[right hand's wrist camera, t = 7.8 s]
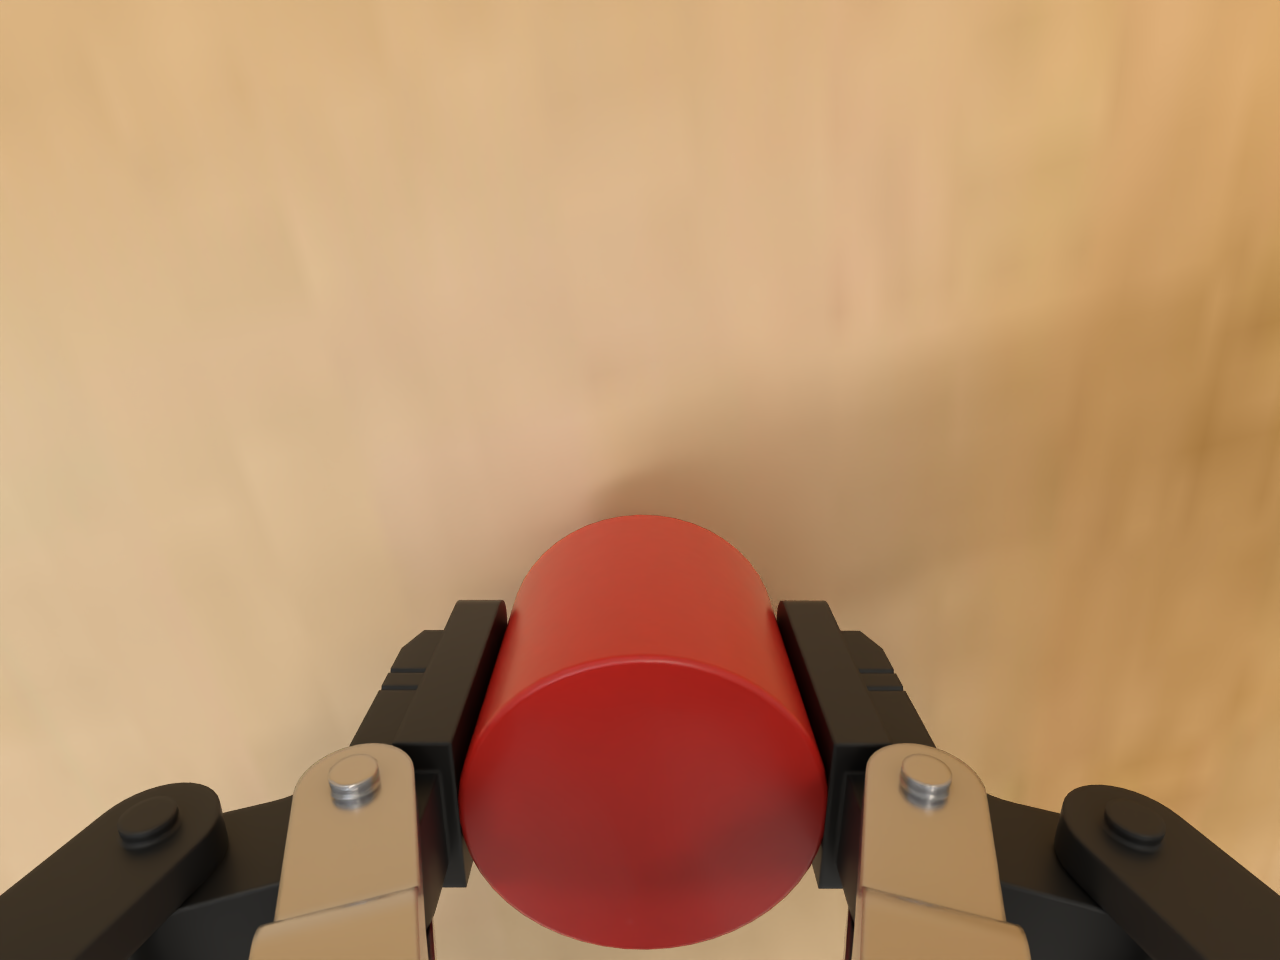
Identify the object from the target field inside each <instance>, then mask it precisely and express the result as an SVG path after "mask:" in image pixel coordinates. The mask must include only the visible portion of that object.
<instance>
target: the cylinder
mask: <svg viewBox="0 0 1280 960" xmlns="http://www.w3.org/2000/svg"><path fill="white" fill-rule="evenodd" d="M827 797H828V786H827V777H826V771H825V767H824V764H823V761H822V758H821V755H820V752H819V749H818V746H817V743H816V740H815V737H814V734H813V731H812V728H811V725H810V722H809V718H808V715H807V712H806V709H805V706H804V703H803V700H802V697H801V694H800V691H799V688H798V685H797V682H796V679H795V676H794V673H793V670H792V667H791V664H790V661H789V657H788V654H787V651H786V648H785V645H784V642H783V639H782V636H781V633H780V630H779V627H778V624H777V621H776V618H775V615H774V612H773V609H772V606H771V603H770V600H769V597H768V594H767V591H766V588H765V587H764V585H763V583H762V581H761V579H760V577H759V575H758V574H757V572H756V571H755V570H754V568H753V567H752V565H751V564H750V563H749V561H748V560H747V559H746V558H745V557H744V556H743V555H742V554H741V553H740V552H739V551H738V550H737V549H736V548H734V547H733V546H732V545H731V544H729V543H728V542H727V541H725V540H724V539H723V538H721V537H719V536H717V535H716V534H714V533H712V532H711V531H709V530H707V529H704V528H702V527H700V526H697V525H695V524H693V523H689V522H686V521H682V520H679V519H676V518H669V517H663V516H655V515H632V516H621V517H616V518H611V519H606V520H602V521H599V522H596V523H593V524H590V525H587V526H585V527H583V528H581V529H579V530H577V531H575V532H573V533H571V534H569V535H567V536H566V537H564V538H563V539H561V540H560V541H558V542H557V543H555V544H554V545H553V546H552V547H551V548H550V549H549V550H547V551H546V552H545V553H544V554H543V555H542V556H541V557H540V558H539V560H538V561H537V562H536V563H535V564H534V565H533V566H532V568H531V569H530V571H529V572H528V574H527V576H526V577H525V579H524V580H523V582H522V585H521V587H520V589H519V591H518V593H517V596H516V599H515V602H514V606H513V609H512V612H511V615H510V618H509V621H508V625H507V628H506V631H505V634H504V637H503V641H502V644H501V647H500V650H499V653H498V656H497V660H496V663H495V666H494V669H493V672H492V675H491V679H490V682H489V685H488V688H487V691H486V694H485V698H484V701H483V704H482V707H481V710H480V713H479V717H478V720H477V723H476V726H475V729H474V732H473V736H472V739H471V742H470V745H469V748H468V751H467V755H466V758H465V761H464V765H463V768H462V772H461V775H460V781H459V790H458V801H459V815H460V823H461V828H462V832H463V837H464V840H465V842H466V845H467V847H468V850H469V852H470V855H471V857H472V859H473V861H474V862H475V864H476V866H477V867H478V869H479V871H480V873H481V874H482V875H483V877H484V878H485V879H486V880H487V882H488V883H489V884H490V885H491V887H492V888H493V889H494V890H495V891H496V892H497V893H498V894H499V895H500V896H501V897H502V898H503V899H504V900H505V901H506V902H507V903H509V904H510V905H511V906H513V907H514V908H515V909H517V910H518V911H519V912H520V913H522V914H523V915H525V916H526V917H528V918H530V919H531V920H533V921H535V922H536V923H538V924H540V925H542V926H544V927H546V928H548V929H550V930H553V931H555V932H557V933H559V934H561V935H564V936H567V937H570V938H573V939H576V940H579V941H583V942H587V943H592V944H596V945H600V946H606V947H614V948H622V949H646V950H648V949H663V948H673V947H679V946H685V945H691V944H695V943H699V942H703V941H707V940H710V939H714V938H716V937H719V936H722V935H724V934H727V933H730V932H732V931H734V930H736V929H738V928H740V927H742V926H744V925H746V924H748V923H750V922H752V921H754V920H755V919H757V918H758V917H760V916H761V915H763V914H765V913H766V912H768V911H769V910H770V909H772V908H773V907H774V906H775V905H776V904H778V903H779V902H780V901H781V900H782V899H784V898H785V897H786V896H787V895H788V894H789V892H790V891H791V890H792V889H793V888H794V887H795V886H796V885H797V884H798V883H799V881H800V880H801V879H802V877H803V876H804V874H805V873H806V872H807V870H808V869H809V867H810V866H811V864H812V862H813V860H814V858H815V856H816V854H817V852H818V850H819V847H820V844H821V841H822V838H823V834H824V826H825V817H826V808H827Z"/></svg>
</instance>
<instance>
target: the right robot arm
mask: <svg viewBox="0 0 1280 960" xmlns="http://www.w3.org/2000/svg"><path fill="white" fill-rule="evenodd" d="M777 624H778V627H779V630H780V633H781V636H782V639H783V642H784V645H785V648H786V651H787V654H788V657H789V661H790V664H791V667H792V670H793V673H794V676H795V679H796V682H797V685H798V688H799V691H800V694H801V697H802V700H803V703H804V706H805V709H806V712H807V715H808V718H809V722H810V725H811V728H812V731H813V734H814V737H815V740H816V743H817V746H818V749H819V752H820V755H821V758H822V761H823V764H824V767H825V771H826V777H827V786H828V797H827V808H826V817H825V826H824V834H823V838H822V841H821V844H820V847H819V850H818V852H817V854H816V856H815V858H814V860H813V862H812V865H813V869H814V873H815V877H816V881H817V884H818V888H819V889H843V890H844V893H845V897H846V900H847V903H848V913H847V921H846V929H845V941H844V955H843V960H1280V896H1279V895H1278V894H1277V893H1276V892H1274V891H1273V890H1272V889H1271V888H1269V887H1268V886H1267V885H1266V884H1264V883H1263V882H1262V881H1261V880H1259V879H1258V878H1257V877H1255V876H1254V875H1253V874H1252V873H1250V872H1249V871H1248V870H1247V869H1245V868H1244V867H1243V866H1242V865H1240V864H1239V863H1238V862H1237V861H1235V860H1234V859H1233V858H1232V857H1230V856H1229V855H1228V854H1227V853H1225V852H1224V851H1223V850H1221V849H1220V848H1219V847H1218V846H1216V845H1215V844H1214V843H1213V842H1211V841H1210V840H1209V839H1208V838H1206V837H1205V836H1204V835H1203V834H1201V833H1200V832H1199V831H1198V830H1196V829H1195V828H1194V827H1193V826H1191V825H1190V824H1189V823H1187V822H1186V821H1185V820H1184V819H1182V818H1181V817H1180V816H1179V815H1177V814H1176V813H1174V812H1173V811H1172V810H1170V809H1169V808H1167V807H1165V806H1164V805H1162V804H1160V803H1159V802H1157V801H1155V800H1153V799H1151V798H1149V797H1146V796H1144V795H1141V794H1139V793H1136V792H1134V791H1130V790H1127V789H1124V788H1119V787H1114V786H1107V785H1088V786H1082V787H1079V788H1076V789H1074V790H1073V791H1071V792H1070V793H1069V794H1068V795H1067V796H1066V797H1065V799H1064V802H1063V805H1062V809H1061V813H1056V812H1051V811H1047V810H1043V809H1038V808H1034V807H1030V806H1025V805H1021V804H1017V803H1013V802H1009V801H1006V800H1002V799H999V798H997V797H994V796H991V795H989V794H987V793H986V790H985V787H984V785H983V783H982V781H981V779H980V778H979V777H978V775H977V774H976V773H975V772H974V771H973V770H972V769H971V768H970V767H969V766H968V765H967V764H965V763H964V762H963V761H961V760H960V759H958V758H956V757H955V756H953V755H951V754H949V753H947V752H945V751H942V750H939V749H937V748H936V746H935V745H934V743H933V741H932V739H931V737H930V735H929V734H928V732H927V730H926V728H925V726H924V724H923V723H922V721H921V719H920V717H919V715H918V713H917V712H916V710H915V708H914V706H913V704H912V702H911V700H910V699H909V697H908V695H907V693H906V691H903V686H902V684H901V682H900V680H899V678H898V677H897V675H896V674H894V669H893V667H892V666H891V664H890V662H889V660H888V658H887V656H886V654H885V653H884V651H883V649H882V648H881V647H880V646H878V645H877V644H876V643H874V642H873V641H872V640H871V639H869V638H868V637H867V636H866V635H864V634H863V633H862V632H861V631H840V629H839V627H838V625H837V622H836V620H835V618H834V616H833V614H832V612H831V610H830V607H829V605H828V604H827V602H826V601H780V602H779V605H778V610H777ZM506 628H507V612H506V606H505V602H504V601H503V600H459V601H457V603H456V605H455V607H454V609H453V611H452V613H451V616H450V618H449V620H448V622H447V624H446V627H445V629H444V630H424V631H423V632H421V633H420V634H419V635H418V636H416V637H415V638H414V639H413V640H411V641H410V642H409V643H408V644H406V645H405V646H404V647H403V648H402V649H401V651H400V652H399V654H398V656H397V658H396V660H395V662H394V664H393V665H392V667H391V673H388V675H387V677H386V679H385V680H384V682H383V684H382V689H381V690H379V692H378V694H377V695H376V697H375V699H374V701H373V703H372V705H371V707H370V708H369V710H368V712H367V714H366V716H365V718H364V720H363V722H362V723H361V725H360V727H359V729H358V731H357V733H356V735H355V737H354V738H353V740H352V742H351V744H350V746H349V747H346V748H343V749H341V750H338V751H335V752H333V753H331V754H329V755H327V756H325V757H324V758H322V759H320V760H319V761H317V762H316V763H315V764H313V765H312V766H311V767H310V768H309V769H308V770H307V771H306V772H305V773H304V774H303V775H302V777H301V778H300V779H299V781H298V783H297V785H296V787H295V790H294V794H293V795H291V796H289V797H286V798H283V799H280V800H276V801H272V802H268V803H264V804H260V805H255V806H251V807H247V808H242V809H238V810H234V811H230V812H225V813H222V808H221V804H220V801H219V798H218V795H217V794H216V793H215V792H214V791H213V790H212V789H210V788H209V787H207V786H204V785H201V784H196V783H174V784H168V785H163V786H158V787H155V788H152V789H148V790H146V791H143V792H141V793H138V794H136V795H134V796H132V797H130V798H128V799H126V800H124V801H122V802H120V803H119V804H117V805H115V806H114V807H112V808H111V809H109V810H108V811H107V812H105V813H104V814H103V815H101V816H100V817H99V818H98V819H96V820H95V821H94V822H93V823H91V824H90V825H89V826H88V827H86V828H85V829H84V830H82V831H81V832H80V833H79V834H77V835H76V836H75V837H74V838H72V839H71V840H70V841H69V842H67V843H66V844H65V845H64V846H62V847H61V848H60V849H59V850H57V851H56V852H55V853H54V854H52V855H51V856H50V857H48V858H47V859H46V860H45V861H43V862H42V863H41V864H40V865H38V866H37V867H36V868H35V869H33V870H32V871H31V872H30V873H28V874H27V875H26V876H25V877H23V878H22V879H21V880H20V881H18V882H17V883H16V884H14V885H13V886H12V887H11V888H9V889H8V890H7V891H6V892H4V893H3V894H2V895H1V896H0V960H437V955H436V941H435V929H434V921H433V916H434V913H435V910H436V907H437V903H438V900H439V896H440V893H441V889H442V887H467V883H468V879H469V875H470V871H471V867H472V863H473V859H472V857H471V855H470V852H469V850H468V847H467V845H466V842H465V840H464V837H463V832H462V828H461V823H460V815H459V801H458V790H459V781H460V775H461V772H462V768H463V765H464V761H465V758H466V755H467V751H468V748H469V745H470V742H471V739H472V736H473V732H474V729H475V726H476V723H477V720H478V717H479V713H480V710H481V707H482V704H483V701H484V698H485V694H486V691H487V688H488V685H489V682H490V679H491V675H492V672H493V669H494V666H495V663H496V660H497V656H498V653H499V650H500V647H501V644H502V641H503V637H504V634H505V631H506Z"/></svg>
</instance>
